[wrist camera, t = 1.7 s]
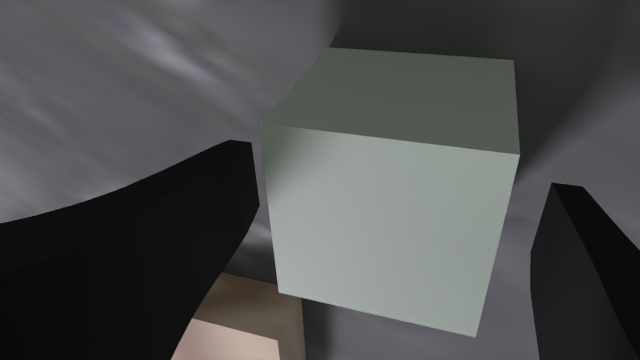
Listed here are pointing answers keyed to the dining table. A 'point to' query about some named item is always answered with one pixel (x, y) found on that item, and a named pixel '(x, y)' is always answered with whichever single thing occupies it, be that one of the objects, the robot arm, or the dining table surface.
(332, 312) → the dining table surface
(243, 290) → the oak block
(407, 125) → the sage cube
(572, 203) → the robot arm
